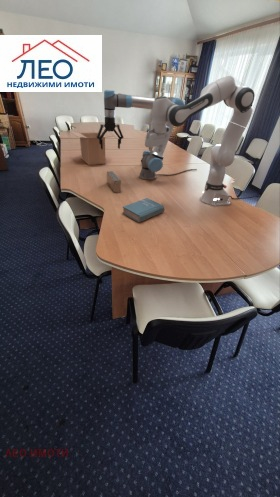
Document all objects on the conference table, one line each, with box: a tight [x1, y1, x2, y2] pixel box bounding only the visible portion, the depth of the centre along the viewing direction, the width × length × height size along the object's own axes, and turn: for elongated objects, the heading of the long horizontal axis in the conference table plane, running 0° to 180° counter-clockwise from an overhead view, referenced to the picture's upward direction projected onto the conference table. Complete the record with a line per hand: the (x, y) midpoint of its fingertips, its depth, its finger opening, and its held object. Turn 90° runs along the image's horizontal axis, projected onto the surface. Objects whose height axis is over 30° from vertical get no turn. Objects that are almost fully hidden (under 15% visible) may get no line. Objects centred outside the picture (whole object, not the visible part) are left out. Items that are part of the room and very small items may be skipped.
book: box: [122, 197, 165, 224], centre depth 146 cm, size 23×16×5 cm
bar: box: [106, 170, 122, 194], centre depth 178 cm, size 22×5×10 cm, turn 22°
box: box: [70, 129, 114, 166], centre depth 229 cm, size 44×36×27 cm
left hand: (110, 148), depth 170 cm, fingers open, 13 cm apart
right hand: (155, 153), depth 142 cm, fingers open, 8 cm apart
